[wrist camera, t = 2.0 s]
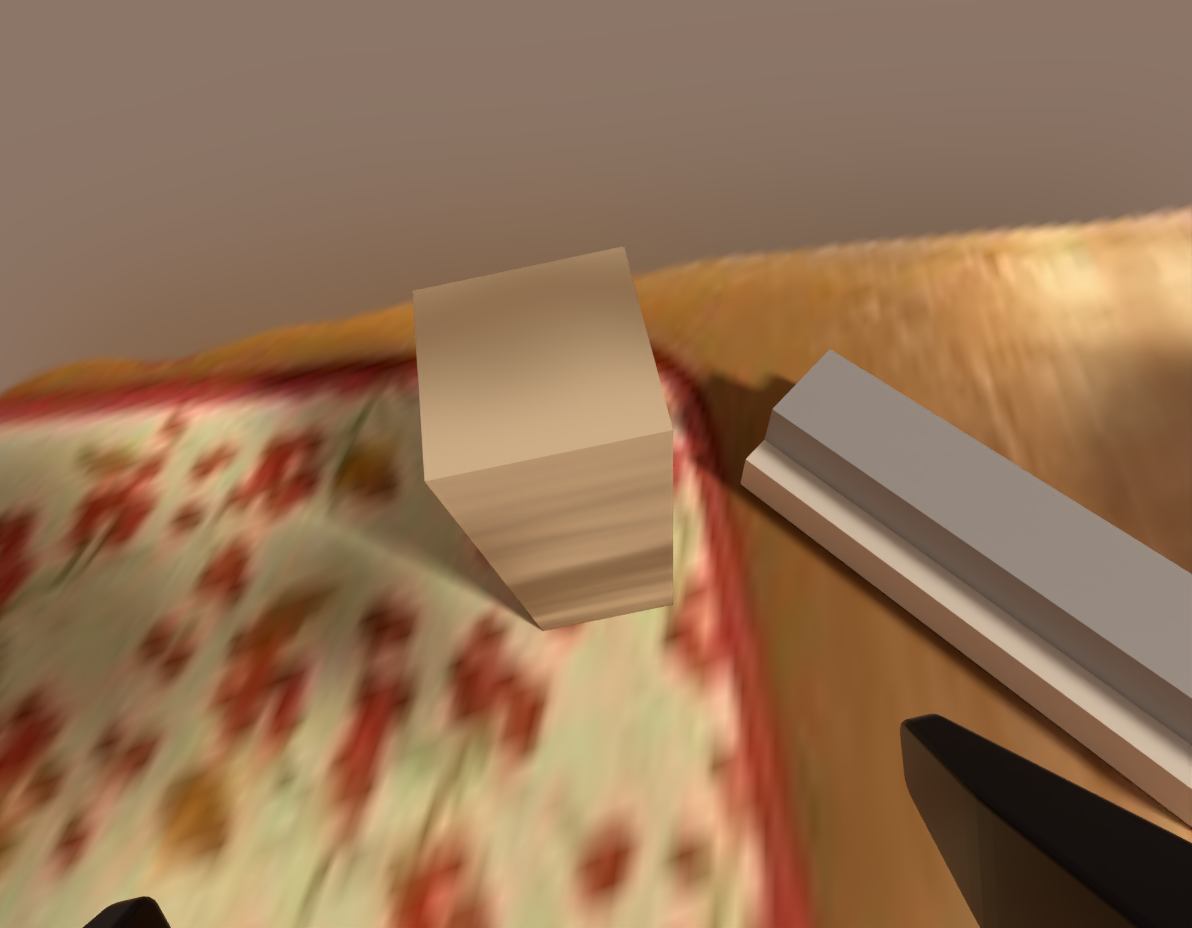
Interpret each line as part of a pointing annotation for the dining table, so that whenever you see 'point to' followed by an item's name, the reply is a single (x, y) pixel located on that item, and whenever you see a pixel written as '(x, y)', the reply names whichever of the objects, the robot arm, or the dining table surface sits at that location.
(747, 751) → the dining table surface
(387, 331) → the dining table surface
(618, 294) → the post
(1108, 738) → the ridge
